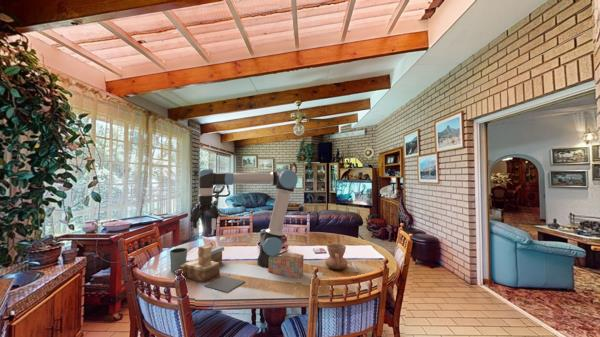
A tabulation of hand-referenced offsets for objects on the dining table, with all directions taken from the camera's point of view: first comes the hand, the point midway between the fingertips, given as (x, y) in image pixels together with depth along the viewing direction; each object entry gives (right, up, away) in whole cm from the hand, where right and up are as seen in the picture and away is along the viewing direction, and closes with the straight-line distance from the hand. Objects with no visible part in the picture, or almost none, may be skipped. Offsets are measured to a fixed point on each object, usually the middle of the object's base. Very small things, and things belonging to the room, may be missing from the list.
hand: (205, 231), depth 144 cm
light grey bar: (-1, -19, +17) cm, 26 cm away
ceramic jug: (+80, -28, +15) cm, 86 cm away
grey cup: (-21, -27, +11) cm, 36 cm away
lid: (-3, -22, +1) cm, 22 cm away
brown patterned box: (+47, -27, +5) cm, 55 cm away
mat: (+15, -26, -10) cm, 32 cm away
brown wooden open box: (0, -27, +6) cm, 27 cm away
